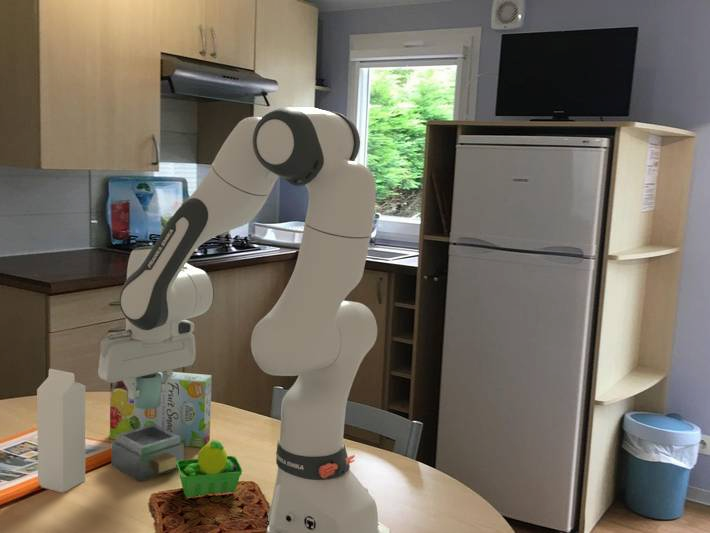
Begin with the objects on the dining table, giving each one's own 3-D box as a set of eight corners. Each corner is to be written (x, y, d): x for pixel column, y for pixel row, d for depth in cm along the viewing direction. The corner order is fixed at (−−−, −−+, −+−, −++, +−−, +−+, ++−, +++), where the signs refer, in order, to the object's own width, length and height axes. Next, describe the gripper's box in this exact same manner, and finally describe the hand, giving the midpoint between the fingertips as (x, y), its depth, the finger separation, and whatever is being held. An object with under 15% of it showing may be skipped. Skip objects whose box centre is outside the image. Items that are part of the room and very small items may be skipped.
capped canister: (165, 405, 148) (166, 371, 147) (144, 411, 144) (144, 376, 143) (151, 398, 151) (151, 365, 150) (129, 404, 147) (129, 370, 146)
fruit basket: (234, 479, 146) (235, 424, 144) (244, 499, 138) (246, 442, 136) (175, 485, 142) (176, 429, 140) (181, 507, 134) (183, 447, 132)
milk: (60, 474, 144) (60, 364, 141) (86, 480, 142) (86, 369, 138) (37, 486, 138) (36, 372, 135) (62, 493, 136) (62, 377, 133)
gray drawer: (188, 469, 149) (188, 439, 148) (145, 485, 141) (145, 452, 140) (154, 452, 156) (154, 422, 155) (111, 465, 149) (111, 434, 148)
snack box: (210, 439, 165) (212, 374, 163) (203, 449, 160) (205, 381, 157) (118, 430, 167) (119, 365, 165) (108, 439, 161) (108, 373, 159)
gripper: (110, 338, 135) (109, 411, 137) (201, 322, 150) (199, 388, 153) (92, 331, 139) (91, 401, 141) (182, 316, 154) (180, 380, 157)
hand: (148, 394), depth 147 cm, fingers closed on capped canister, 5 cm apart
